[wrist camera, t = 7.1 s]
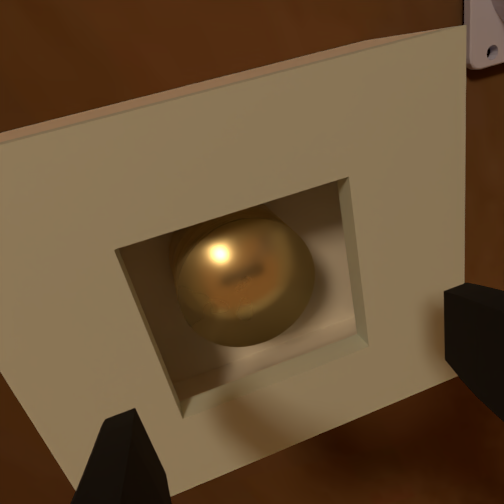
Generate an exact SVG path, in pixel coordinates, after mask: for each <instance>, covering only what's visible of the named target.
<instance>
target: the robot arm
mask: <svg viewBox="0 0 504 504" xmlns="http://www.w3.org/2000/svg"><path fill="white" fill-rule="evenodd" d="M464 25H466V67H467V68H468V69H470V70H475V69H483V68H487V67H490V66H494V65H498V64H501V63H504V0H464ZM489 48H490V55H489V57H488V58H487V50H488V49H489ZM444 344H445V361H446V362H447V363H448V364H449V365H450V367H451V368H452V369H453V370H454V371H455V373H456V374H457V375H458V376H459V377H460V379H461V380H462V381H463V382H464V383H465V384H466V385H467V387H468V388H469V389H470V390H471V391H472V392H473V393H474V394H475V395H476V396H477V397H478V398H479V399H480V400H481V401H482V402H483V403H484V404H485V405H486V406H487V407H488V408H489V409H490V410H492V411H493V412H494V413H495V414H496V415H497V416H498V417H499V418H500V419H501V420H502V421H504V291H502V290H498V289H494V288H489V287H485V286H481V285H476V284H471V283H464V284H461V285H459V286H456V287H453V288H451V289H448V290H445V291H444ZM71 504H171V498H170V492H169V487H168V481H167V476H166V472H165V470H164V468H163V466H162V464H161V462H160V460H159V458H158V455H157V453H156V451H155V449H154V447H153V445H152V443H151V441H150V438H149V436H148V434H147V432H146V430H145V428H144V426H143V423H142V421H141V419H140V417H139V415H138V413H137V411H136V409H135V408H133V409H131V410H128V411H125V412H123V413H120V414H117V415H115V416H112V417H109V418H107V419H105V420H104V422H103V424H102V425H101V428H100V431H99V433H98V436H97V439H96V441H95V444H94V447H93V449H92V452H91V454H90V457H89V460H88V462H87V465H86V467H85V470H84V472H83V475H82V477H81V480H80V482H79V485H78V487H77V490H76V492H75V494H74V497H73V499H72V501H71Z"/></svg>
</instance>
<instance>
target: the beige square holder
mask: <svg viewBox="0 0 504 504" xmlns="http://www.w3.org/2000/svg"><path fill="white" fill-rule="evenodd" d="M465 141H466V25H461V26H455V27H449V28H442V29H436V30H429V31H423V32H416V33H410V34H404V35H397V36H391V37H384V38H378V39H372V40H365V41H361V42H357V43H353V44H349V45H346V46H342V47H338V48H334V49H330V50H326V51H322V52H318V53H314V54H310V55H306V56H302V57H298V58H294V59H290V60H286V61H282V62H278V63H274V64H271V65H267V66H263V67H259V68H255V69H251V70H247V71H243V72H239V73H235V74H231V75H227V76H223V77H219V78H215V79H211V80H207V81H203V82H199V83H196V84H192V85H188V86H184V87H180V88H176V89H172V90H168V91H164V92H160V93H156V94H152V95H148V96H144V97H140V98H136V99H132V100H128V101H124V102H121V103H117V104H113V105H109V106H105V107H101V108H97V109H93V110H89V111H85V112H81V113H77V114H73V115H69V116H65V117H61V118H57V119H53V120H50V121H46V122H42V123H38V124H34V125H30V126H26V127H22V128H18V129H14V130H10V131H6V132H2V133H0V372H1V373H2V375H3V377H4V378H5V380H6V381H7V383H8V385H9V386H10V388H11V389H12V391H13V392H14V394H15V396H16V397H17V399H18V400H19V402H20V404H21V405H22V407H23V408H24V410H25V411H26V413H27V415H28V416H29V418H30V419H31V421H32V422H33V424H34V426H35V427H36V429H37V430H38V432H39V434H40V435H41V437H42V438H43V440H44V441H45V443H46V445H47V446H48V448H49V449H50V451H51V453H52V454H53V456H54V457H55V459H56V460H57V462H58V464H59V465H60V467H61V468H62V470H63V472H64V473H65V475H66V476H67V478H68V479H69V481H70V483H71V484H72V486H73V487H74V489H75V490H77V487H78V485H79V482H80V480H81V477H82V475H83V472H84V470H85V467H86V465H87V462H88V460H89V457H90V454H91V452H92V449H93V447H94V444H95V441H96V439H97V436H98V433H99V431H100V428H101V425H102V424H103V422H104V420H105V419H107V418H109V417H112V416H115V415H117V414H120V413H123V412H125V411H128V410H131V409H133V408H135V409H136V411H137V413H138V415H139V417H140V419H141V421H142V423H143V426H144V428H145V430H146V432H147V434H148V436H149V438H150V441H151V443H152V445H153V447H154V449H155V451H156V453H157V455H158V458H159V460H160V462H161V464H162V466H163V468H164V470H165V472H166V476H167V481H168V487H169V492H170V497H171V496H173V495H176V494H178V493H180V492H183V491H185V490H188V489H190V488H192V487H195V486H197V485H199V484H202V483H204V482H207V481H209V480H211V479H214V478H216V477H219V476H221V475H223V474H226V473H228V472H230V471H233V470H235V469H238V468H240V467H242V466H245V465H247V464H249V463H252V462H254V461H257V460H259V459H261V458H264V457H266V456H269V455H271V454H273V453H276V452H278V451H280V450H283V449H285V448H288V447H290V446H292V445H295V444H297V443H300V442H302V441H304V440H307V439H309V438H311V437H314V436H316V435H319V434H321V433H323V432H326V431H328V430H330V429H333V428H335V427H338V426H340V425H342V424H345V423H347V422H350V421H352V420H354V419H357V418H359V417H361V416H364V415H366V414H369V413H371V412H373V411H376V410H378V409H381V408H383V407H385V406H388V405H390V404H392V403H395V402H397V401H400V400H402V399H404V398H407V397H409V396H411V395H414V394H416V393H419V392H421V391H423V390H426V389H428V388H431V387H433V386H435V385H438V384H440V383H442V382H445V381H447V380H450V379H452V378H454V377H457V376H458V375H457V374H456V373H455V371H454V370H453V369H452V368H451V367H450V365H449V364H448V363H447V362H446V361H445V344H444V291H445V290H448V289H451V288H453V287H456V286H459V285H461V284H464V258H465ZM262 203H263V204H264V205H265V206H267V207H268V208H269V209H270V210H271V211H272V212H273V213H274V214H276V215H277V216H278V217H279V218H280V219H281V220H282V221H283V222H284V223H285V224H287V225H288V226H289V227H290V228H291V229H292V230H293V231H294V232H295V233H297V234H298V235H299V236H300V237H301V239H302V240H303V241H304V242H305V244H306V245H307V247H308V248H309V250H310V253H311V255H312V258H313V262H314V268H315V282H314V288H313V292H312V295H311V298H310V300H309V302H308V304H307V306H306V308H305V310H304V311H303V313H302V314H301V315H300V317H299V318H298V319H297V320H296V321H295V322H294V324H292V325H291V326H290V327H289V328H288V329H287V330H285V331H284V332H283V333H281V334H280V335H278V336H276V337H275V338H273V339H271V340H268V341H266V342H264V343H260V344H257V345H253V346H248V347H228V346H222V345H219V344H215V343H213V342H210V341H208V340H206V339H204V338H203V337H201V336H200V335H199V334H197V333H196V332H195V331H194V330H193V329H192V328H191V327H190V326H189V325H188V323H187V322H186V320H185V318H184V317H183V314H182V312H181V310H180V306H179V302H178V298H177V294H176V289H175V285H174V280H173V276H172V271H171V267H170V262H169V247H170V241H171V238H172V235H173V232H174V231H176V230H179V229H182V228H185V227H189V226H192V225H195V224H198V223H201V222H205V221H208V220H211V219H214V218H217V217H221V216H224V215H227V214H230V213H233V212H237V211H240V210H243V209H246V208H249V207H253V206H256V205H259V204H262Z"/></svg>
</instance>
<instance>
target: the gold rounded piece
mask: <svg viewBox="0 0 504 504" xmlns="http://www.w3.org/2000/svg"><path fill="white" fill-rule="evenodd" d="M169 262H170V267H171V271H172V276H173V280H174V285H175V289H176V294H177V298H178V302H179V306H180V310H181V312H182V314H183V317H184V318H185V320H186V322H187V323H188V325H189V326H190V327H191V328H192V329H193V330H194V331H195V332H196V333H197V334H199V335H200V336H201V337H203V338H204V339H206V340H208V341H210V342H213V343H215V344H219V345H222V346H228V347H248V346H253V345H257V344H260V343H264V342H266V341H268V340H271V339H273V338H275V337H276V336H278V335H280V334H281V333H283V332H284V331H285V330H287V329H288V328H289V327H290V326H291V325H292V324H294V322H295V321H296V320H297V319H298V318H299V317H300V315H301V314H302V313H303V311H304V310H305V308H306V306H307V304H308V302H309V300H310V298H311V295H312V292H313V288H314V282H315V268H314V262H313V258H312V255H311V253H310V250H309V248H308V247H307V245H306V244H305V242H304V241H303V240H302V239H301V237H300V236H299V235H298V234H297V233H295V232H294V231H293V230H292V229H291V228H290V227H289V226H288V225H287V224H285V223H284V222H283V221H282V220H281V219H280V218H279V217H278V216H277V215H276V214H274V213H273V212H272V211H271V210H270V209H269V208H268V207H267V206H265V205H264V204H263V203H262V204H259V205H256V206H253V207H249V208H246V209H243V210H240V211H237V212H233V213H230V214H227V215H224V216H221V217H217V218H214V219H211V220H208V221H205V222H201V223H198V224H195V225H192V226H189V227H185V228H182V229H179V230H176V231H174V232H173V235H172V238H171V241H170V247H169Z"/></svg>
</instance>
